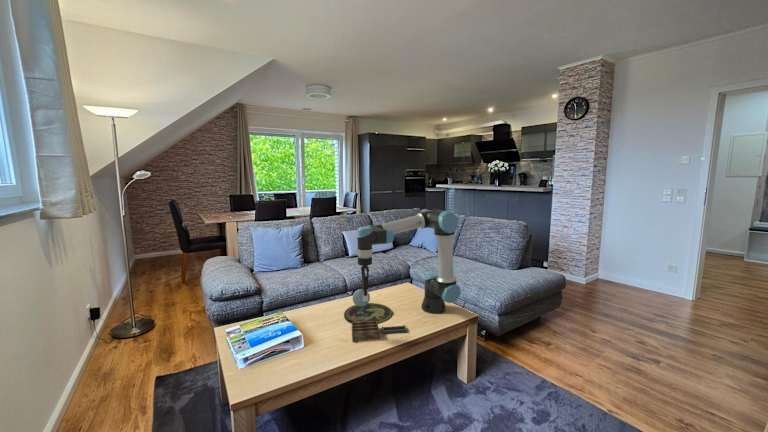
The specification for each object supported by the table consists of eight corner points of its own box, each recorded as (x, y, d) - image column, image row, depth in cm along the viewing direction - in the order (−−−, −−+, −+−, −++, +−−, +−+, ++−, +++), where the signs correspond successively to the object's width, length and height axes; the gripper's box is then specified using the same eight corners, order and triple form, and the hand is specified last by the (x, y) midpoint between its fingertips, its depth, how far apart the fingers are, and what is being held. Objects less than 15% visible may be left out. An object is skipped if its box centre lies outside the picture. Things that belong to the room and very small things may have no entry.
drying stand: (404, 328, 181) (404, 325, 180) (407, 334, 175) (407, 330, 174) (381, 330, 179) (381, 326, 179) (383, 335, 173) (383, 331, 173)
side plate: (372, 300, 172) (364, 286, 171) (372, 301, 171) (365, 287, 169) (357, 308, 172) (349, 293, 170) (357, 309, 170) (349, 295, 169)
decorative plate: (337, 321, 187) (352, 300, 216) (337, 324, 187) (352, 303, 216) (388, 326, 181) (396, 304, 210) (388, 329, 181) (396, 307, 210)
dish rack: (376, 329, 180) (376, 320, 180) (379, 339, 169) (379, 330, 168) (351, 330, 179) (351, 322, 178) (352, 341, 167) (352, 332, 166)
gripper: (356, 253, 175) (357, 295, 178) (358, 260, 160) (358, 306, 163) (370, 253, 176) (370, 294, 179) (373, 260, 161) (373, 305, 164)
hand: (365, 300), depth 171 cm, fingers closed on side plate, 1 cm apart
